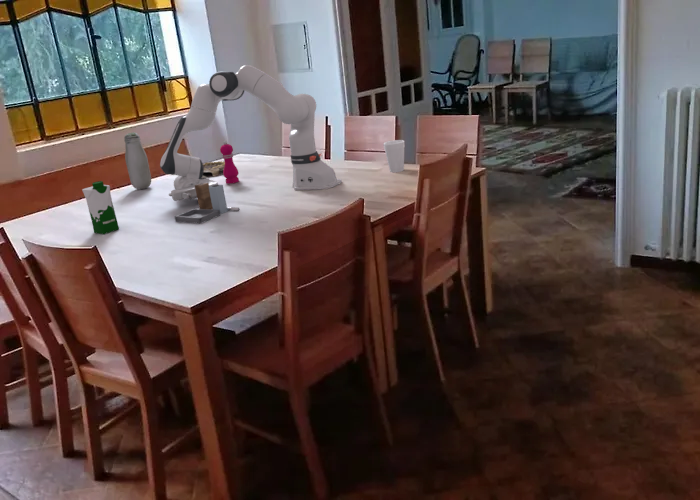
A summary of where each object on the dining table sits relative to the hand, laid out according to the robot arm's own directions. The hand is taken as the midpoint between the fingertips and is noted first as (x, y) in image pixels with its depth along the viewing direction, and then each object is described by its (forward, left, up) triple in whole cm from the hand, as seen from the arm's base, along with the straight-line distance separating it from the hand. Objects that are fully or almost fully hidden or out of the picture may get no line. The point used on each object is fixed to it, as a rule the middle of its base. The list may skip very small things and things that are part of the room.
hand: (200, 193), depth 289 cm
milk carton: (+18, +36, -6) cm, 40 cm away
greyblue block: (-15, +5, -6) cm, 17 cm away
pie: (+50, -56, -7) cm, 76 cm away
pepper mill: (+19, -39, -6) cm, 44 cm away
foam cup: (-57, -66, -6) cm, 88 cm away
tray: (-11, +14, -6) cm, 18 cm away
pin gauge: (-17, +1, -6) cm, 18 cm away
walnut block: (-5, +3, -6) cm, 8 cm away
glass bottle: (+64, -22, -6) cm, 68 cm away
